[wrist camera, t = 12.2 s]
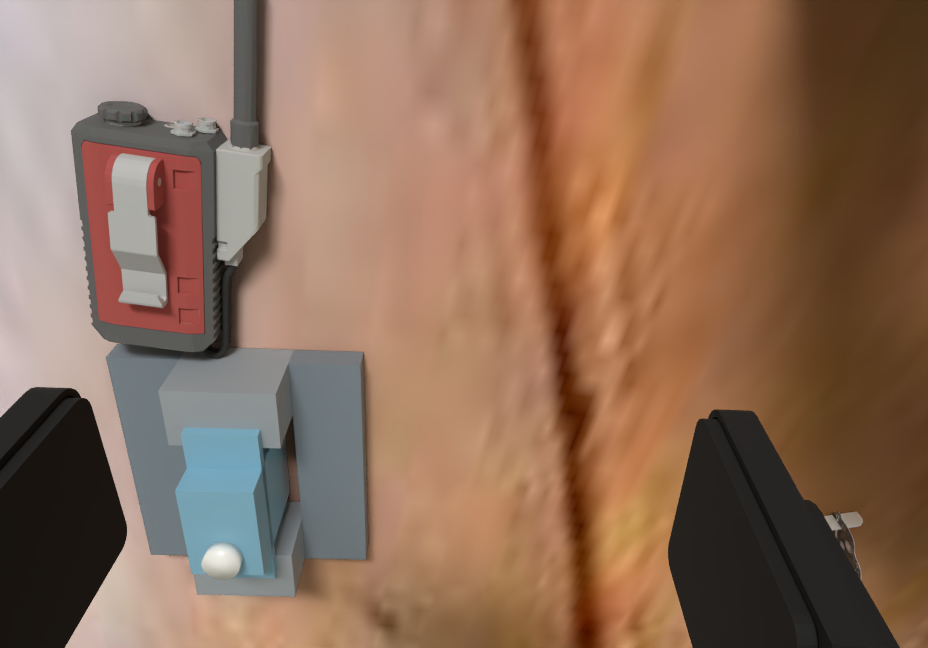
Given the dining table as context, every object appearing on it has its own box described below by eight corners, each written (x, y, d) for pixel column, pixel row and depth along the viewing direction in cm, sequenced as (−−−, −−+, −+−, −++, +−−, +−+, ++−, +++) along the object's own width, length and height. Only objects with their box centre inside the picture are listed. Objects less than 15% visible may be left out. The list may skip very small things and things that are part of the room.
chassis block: (363, 352, 40) (353, 396, 36) (368, 542, 47) (360, 598, 43) (117, 343, 40) (79, 388, 36) (159, 537, 47) (131, 592, 43)
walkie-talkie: (268, 349, 41) (279, -32, 31) (247, 392, 37) (253, -30, 27) (112, 329, 40) (76, -67, 31) (75, 370, 36) (21, -70, 27)
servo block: (279, 382, 41) (244, 468, 34) (292, 516, 46) (264, 615, 39) (211, 380, 41) (162, 466, 34) (232, 514, 46) (192, 613, 39)
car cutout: (777, 505, 47) (807, 556, 43) (879, 490, 46) (919, 540, 42) (773, 649, 54) (798, 705, 50) (861, 637, 53) (894, 693, 49)
